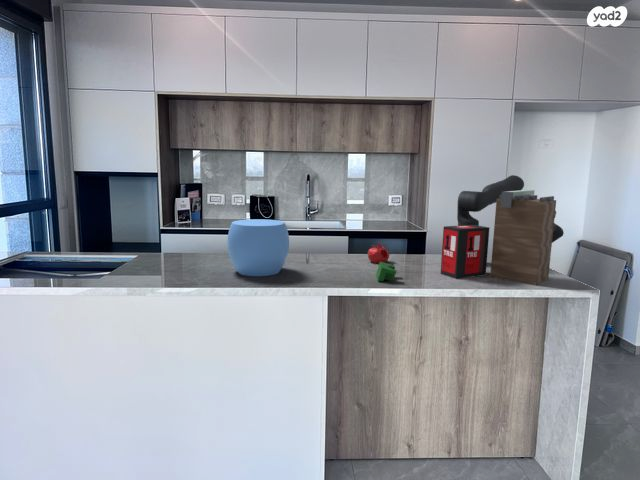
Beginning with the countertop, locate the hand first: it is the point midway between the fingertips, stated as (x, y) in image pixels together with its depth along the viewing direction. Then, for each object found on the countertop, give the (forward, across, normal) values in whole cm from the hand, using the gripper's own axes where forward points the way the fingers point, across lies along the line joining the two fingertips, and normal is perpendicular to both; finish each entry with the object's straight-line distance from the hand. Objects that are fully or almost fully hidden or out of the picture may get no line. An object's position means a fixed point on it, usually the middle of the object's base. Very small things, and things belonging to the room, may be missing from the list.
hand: (534, 203), depth 203 cm
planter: (+66, -75, +72) cm, 123 cm away
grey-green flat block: (+17, 0, +6) cm, 18 cm away
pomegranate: (+21, -53, +46) cm, 73 cm away
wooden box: (+5, +4, +36) cm, 37 cm away
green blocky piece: (+41, -32, +58) cm, 78 cm away
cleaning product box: (+15, -14, +42) cm, 47 cm away
